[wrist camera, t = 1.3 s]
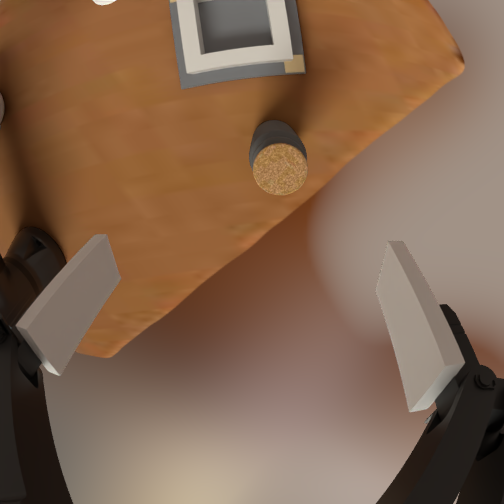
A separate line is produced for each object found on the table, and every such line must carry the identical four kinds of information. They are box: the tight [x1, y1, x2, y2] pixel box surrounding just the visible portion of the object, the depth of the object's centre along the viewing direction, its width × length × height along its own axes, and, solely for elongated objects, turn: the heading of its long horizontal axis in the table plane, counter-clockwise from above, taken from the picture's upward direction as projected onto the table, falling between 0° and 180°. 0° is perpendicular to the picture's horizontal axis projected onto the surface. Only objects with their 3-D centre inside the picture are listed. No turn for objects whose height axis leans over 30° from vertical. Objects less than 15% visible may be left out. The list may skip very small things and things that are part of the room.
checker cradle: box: [169, 0, 306, 89], centre depth 26 cm, size 16×16×4 cm
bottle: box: [249, 120, 308, 195], centre depth 30 cm, size 6×6×15 cm
